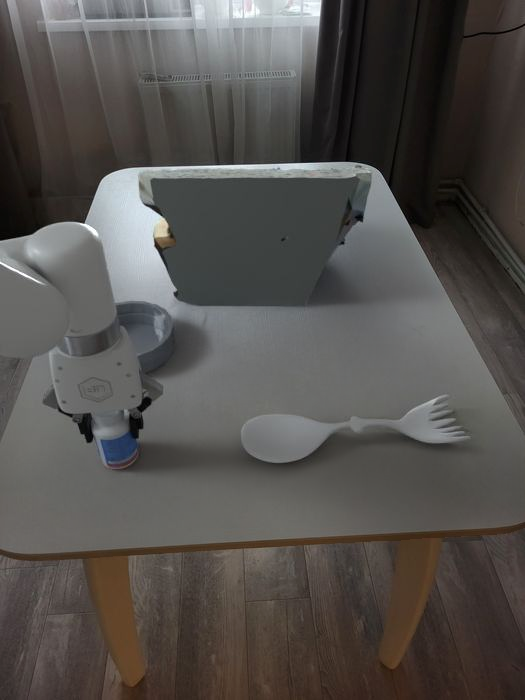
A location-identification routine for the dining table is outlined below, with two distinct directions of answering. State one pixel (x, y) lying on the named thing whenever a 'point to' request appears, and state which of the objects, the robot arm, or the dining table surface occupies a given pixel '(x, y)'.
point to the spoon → (307, 435)
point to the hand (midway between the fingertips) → (113, 432)
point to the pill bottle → (114, 438)
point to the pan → (148, 331)
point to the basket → (251, 229)
